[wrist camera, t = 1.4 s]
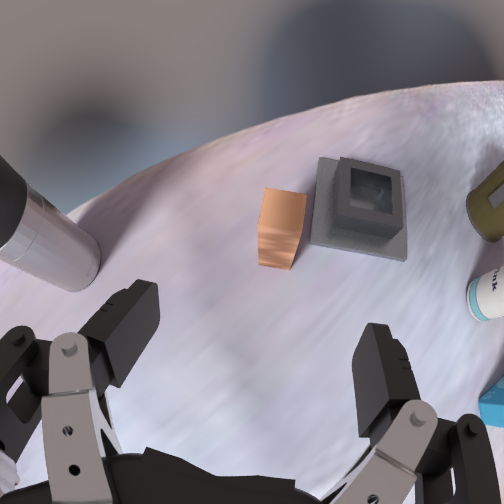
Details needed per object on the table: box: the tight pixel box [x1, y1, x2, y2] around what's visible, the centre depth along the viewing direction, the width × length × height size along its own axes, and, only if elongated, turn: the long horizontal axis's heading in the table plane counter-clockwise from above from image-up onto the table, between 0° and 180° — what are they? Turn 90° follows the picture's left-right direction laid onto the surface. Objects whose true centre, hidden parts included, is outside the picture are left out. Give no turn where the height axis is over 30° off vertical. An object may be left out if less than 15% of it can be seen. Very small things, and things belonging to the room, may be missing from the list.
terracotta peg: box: [258, 188, 307, 270], centre depth 32 cm, size 4×4×12 cm
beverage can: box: [467, 265, 504, 322], centre depth 28 cm, size 7×7×12 cm
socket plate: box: [309, 157, 407, 262], centre depth 37 cm, size 14×14×5 cm
